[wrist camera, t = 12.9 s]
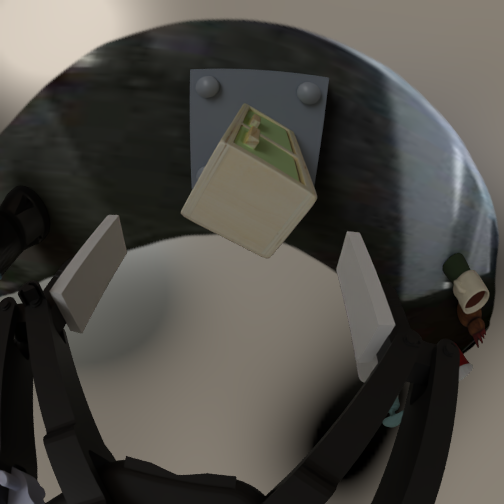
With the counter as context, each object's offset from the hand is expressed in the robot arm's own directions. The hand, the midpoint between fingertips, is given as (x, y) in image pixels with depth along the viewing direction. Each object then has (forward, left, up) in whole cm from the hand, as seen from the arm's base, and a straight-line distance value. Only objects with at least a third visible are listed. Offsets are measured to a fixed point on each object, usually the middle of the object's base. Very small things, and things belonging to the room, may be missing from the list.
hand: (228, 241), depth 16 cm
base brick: (0, 0, -32) cm, 32 cm away
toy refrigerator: (+1, 0, -26) cm, 26 cm away
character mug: (+47, -23, -32) cm, 61 cm away
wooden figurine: (+59, -35, -32) cm, 76 cm away
